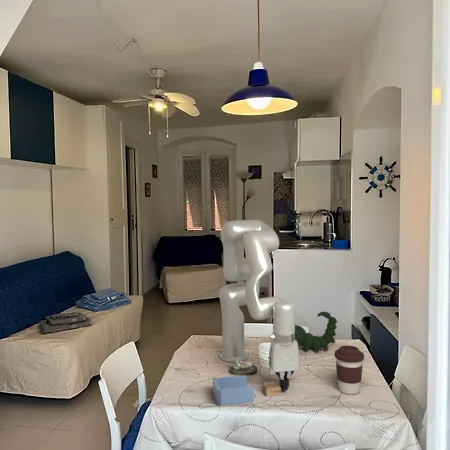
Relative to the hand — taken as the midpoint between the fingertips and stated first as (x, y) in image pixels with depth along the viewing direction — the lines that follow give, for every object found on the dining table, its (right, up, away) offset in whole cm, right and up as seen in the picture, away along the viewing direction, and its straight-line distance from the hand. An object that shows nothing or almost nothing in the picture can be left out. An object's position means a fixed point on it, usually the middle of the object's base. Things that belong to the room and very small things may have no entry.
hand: (284, 388), depth 145 cm
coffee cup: (+23, -1, 0) cm, 23 cm away
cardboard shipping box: (-4, -1, -1) cm, 5 cm away
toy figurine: (+16, +1, +40) cm, 43 cm away
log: (-13, -1, +19) cm, 23 cm away
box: (-18, -2, -3) cm, 19 cm away
